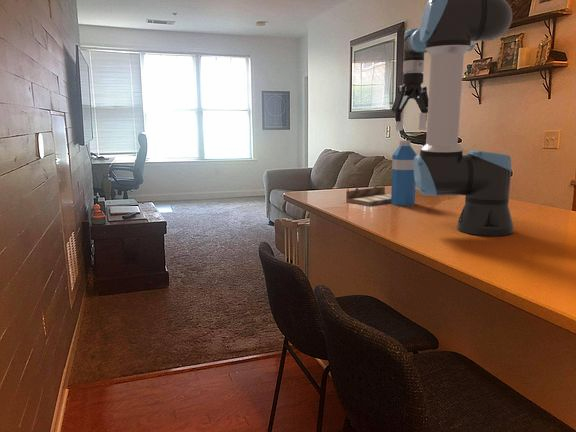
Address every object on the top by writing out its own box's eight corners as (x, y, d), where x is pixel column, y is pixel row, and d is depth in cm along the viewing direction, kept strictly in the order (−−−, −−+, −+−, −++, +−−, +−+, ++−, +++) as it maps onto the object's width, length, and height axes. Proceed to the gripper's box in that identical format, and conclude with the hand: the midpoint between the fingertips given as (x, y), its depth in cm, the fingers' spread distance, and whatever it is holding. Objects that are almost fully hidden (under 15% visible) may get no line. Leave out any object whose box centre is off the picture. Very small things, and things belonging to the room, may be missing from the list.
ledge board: (368, 206, 178) (369, 192, 177) (346, 201, 189) (346, 189, 188) (406, 200, 190) (406, 187, 189) (382, 196, 201) (383, 184, 200)
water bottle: (412, 202, 186) (415, 140, 181) (416, 205, 177) (419, 140, 172) (389, 201, 187) (391, 140, 182) (392, 205, 178) (394, 141, 173)
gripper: (398, 70, 162) (396, 130, 166) (442, 73, 176) (439, 129, 180) (382, 72, 168) (381, 130, 172) (426, 75, 182) (423, 129, 186)
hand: (411, 130), depth 176 cm, fingers open, 13 cm apart
